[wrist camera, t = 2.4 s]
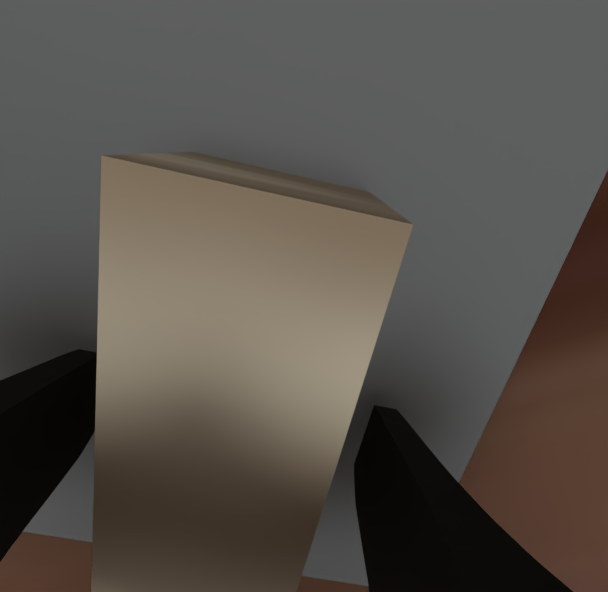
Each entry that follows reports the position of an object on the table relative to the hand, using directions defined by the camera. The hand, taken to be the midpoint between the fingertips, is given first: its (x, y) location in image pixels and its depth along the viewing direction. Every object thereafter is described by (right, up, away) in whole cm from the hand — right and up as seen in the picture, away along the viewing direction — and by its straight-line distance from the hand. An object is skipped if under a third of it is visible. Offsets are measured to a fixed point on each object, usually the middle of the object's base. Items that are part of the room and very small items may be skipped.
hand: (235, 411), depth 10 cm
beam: (0, 0, +1) cm, 1 cm away
